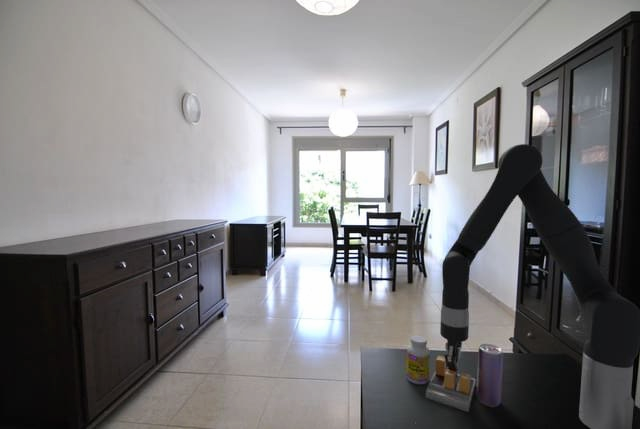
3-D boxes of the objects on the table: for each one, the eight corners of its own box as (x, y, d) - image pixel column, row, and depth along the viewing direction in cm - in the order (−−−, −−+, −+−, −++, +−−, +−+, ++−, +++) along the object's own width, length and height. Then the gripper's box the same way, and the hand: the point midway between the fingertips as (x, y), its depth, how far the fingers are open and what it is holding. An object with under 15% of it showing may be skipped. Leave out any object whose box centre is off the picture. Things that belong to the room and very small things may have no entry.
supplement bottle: (403, 381, 99) (405, 340, 98) (408, 370, 105) (409, 332, 104) (426, 387, 96) (428, 345, 95) (430, 376, 101) (431, 336, 100)
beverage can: (503, 409, 86) (506, 355, 85) (479, 406, 87) (482, 352, 86) (496, 395, 92) (498, 344, 91) (473, 392, 93) (476, 342, 92)
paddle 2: (455, 386, 92) (456, 370, 92) (453, 392, 90) (454, 376, 89) (446, 384, 93) (446, 368, 93) (444, 389, 91) (444, 373, 91)
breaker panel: (475, 385, 97) (475, 374, 97) (468, 412, 85) (469, 400, 85) (436, 374, 103) (437, 364, 103) (425, 397, 91) (426, 386, 91)
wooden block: (446, 371, 100) (446, 357, 99) (444, 376, 97) (444, 361, 97) (437, 369, 101) (438, 354, 101) (435, 374, 99) (436, 359, 98)
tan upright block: (470, 390, 90) (470, 374, 90) (468, 396, 88) (469, 379, 88) (460, 387, 92) (461, 371, 91) (458, 393, 89) (459, 376, 89)
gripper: (465, 332, 86) (462, 394, 87) (471, 315, 97) (469, 371, 98) (435, 326, 90) (434, 385, 91) (445, 310, 101) (443, 364, 102)
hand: (452, 377), depth 95 cm, fingers closed
